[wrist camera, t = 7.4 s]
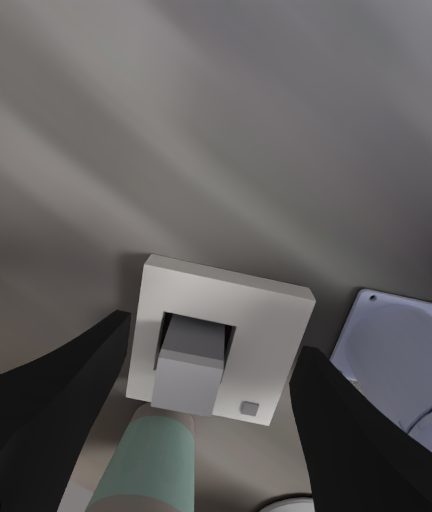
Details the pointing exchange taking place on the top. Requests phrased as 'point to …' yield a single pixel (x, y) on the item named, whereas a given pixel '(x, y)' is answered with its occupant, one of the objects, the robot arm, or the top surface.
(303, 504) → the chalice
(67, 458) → the robot arm
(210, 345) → the plug
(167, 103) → the top surface
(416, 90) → the top surface
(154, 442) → the coffee cup
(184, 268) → the socket plate
